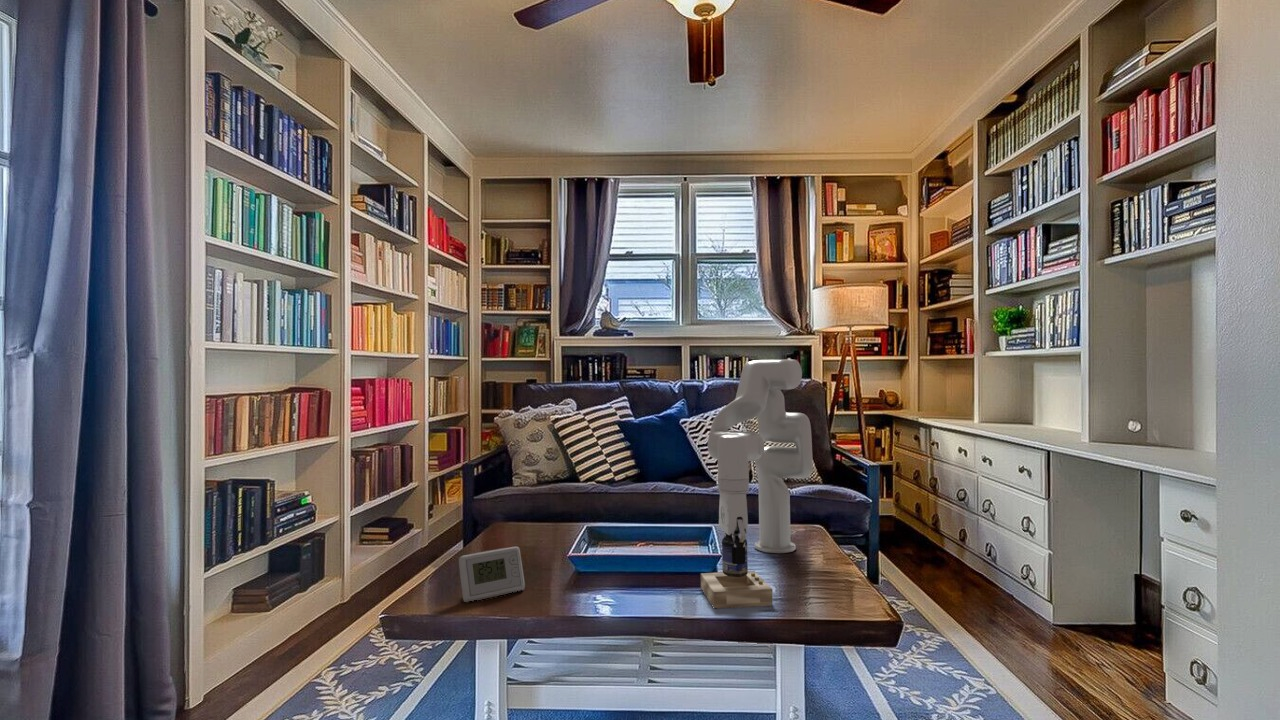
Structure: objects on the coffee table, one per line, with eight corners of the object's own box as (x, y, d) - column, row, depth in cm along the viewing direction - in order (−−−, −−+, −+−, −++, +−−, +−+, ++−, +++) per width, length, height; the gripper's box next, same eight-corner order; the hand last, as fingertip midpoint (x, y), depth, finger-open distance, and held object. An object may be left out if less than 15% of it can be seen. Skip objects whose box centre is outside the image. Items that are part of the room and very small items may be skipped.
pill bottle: (747, 578, 148) (746, 531, 148) (721, 577, 149) (720, 530, 149) (748, 570, 154) (747, 525, 154) (723, 569, 155) (722, 524, 155)
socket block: (700, 588, 157) (700, 571, 158) (754, 585, 159) (754, 568, 159) (714, 608, 143) (713, 589, 144) (772, 605, 145) (772, 586, 145)
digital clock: (461, 605, 148) (460, 560, 148) (456, 593, 156) (456, 551, 156) (528, 595, 154) (528, 552, 154) (520, 584, 162) (520, 543, 163)
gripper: (710, 480, 160) (711, 550, 160) (727, 492, 143) (729, 571, 143) (738, 479, 161) (739, 549, 161) (759, 491, 144) (760, 569, 144)
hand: (734, 558), depth 152 cm, fingers closed on pill bottle, 6 cm apart
